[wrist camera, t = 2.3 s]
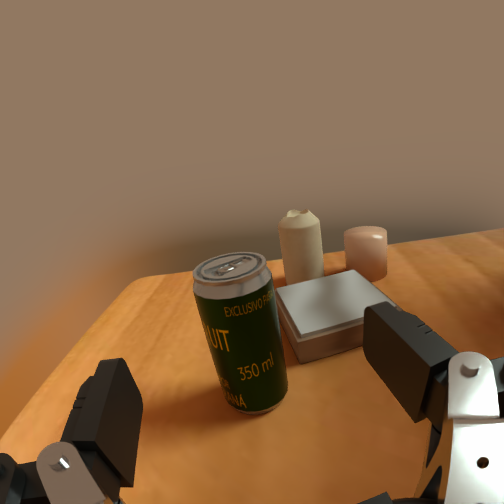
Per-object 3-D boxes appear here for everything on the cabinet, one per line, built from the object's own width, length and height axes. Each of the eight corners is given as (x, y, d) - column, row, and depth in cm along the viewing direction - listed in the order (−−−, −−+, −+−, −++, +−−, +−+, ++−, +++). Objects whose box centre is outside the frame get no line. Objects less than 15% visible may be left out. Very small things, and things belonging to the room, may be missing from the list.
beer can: (262, 365, 28) (238, 246, 24) (302, 392, 24) (286, 259, 20) (214, 394, 25) (176, 270, 21) (251, 428, 21) (215, 293, 17)
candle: (279, 280, 45) (269, 213, 42) (311, 269, 47) (303, 204, 43) (298, 294, 40) (289, 219, 37) (332, 280, 42) (326, 209, 39)
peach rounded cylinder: (374, 261, 45) (373, 223, 43) (394, 275, 40) (395, 234, 38) (339, 269, 45) (336, 231, 43) (357, 286, 39) (356, 243, 37)
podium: (356, 288, 39) (355, 267, 38) (401, 331, 28) (403, 306, 27) (274, 309, 38) (270, 287, 37) (300, 364, 27) (297, 338, 26)
